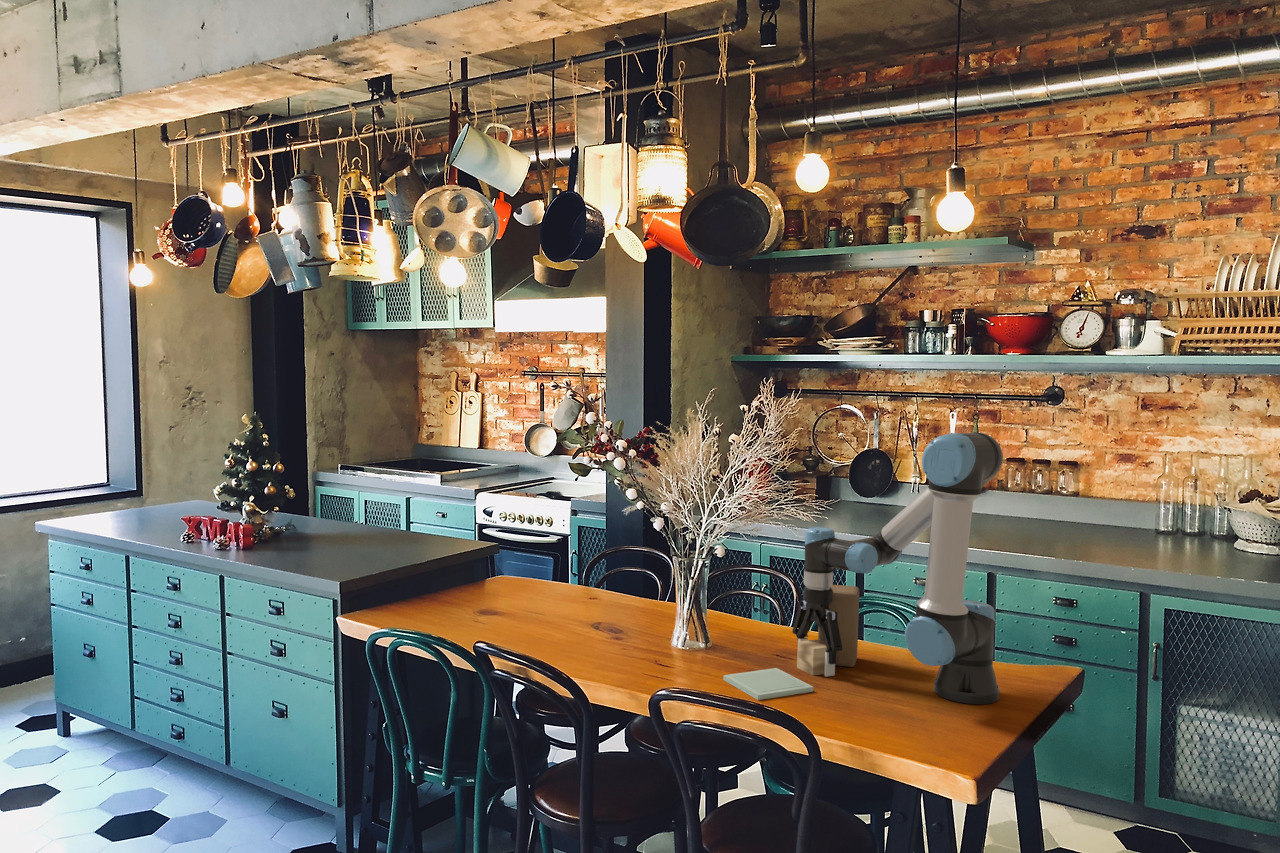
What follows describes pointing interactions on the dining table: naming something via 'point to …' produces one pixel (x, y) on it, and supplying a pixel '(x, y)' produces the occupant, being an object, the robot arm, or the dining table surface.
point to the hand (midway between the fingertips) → (815, 669)
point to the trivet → (767, 683)
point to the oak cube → (811, 656)
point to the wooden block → (845, 622)
